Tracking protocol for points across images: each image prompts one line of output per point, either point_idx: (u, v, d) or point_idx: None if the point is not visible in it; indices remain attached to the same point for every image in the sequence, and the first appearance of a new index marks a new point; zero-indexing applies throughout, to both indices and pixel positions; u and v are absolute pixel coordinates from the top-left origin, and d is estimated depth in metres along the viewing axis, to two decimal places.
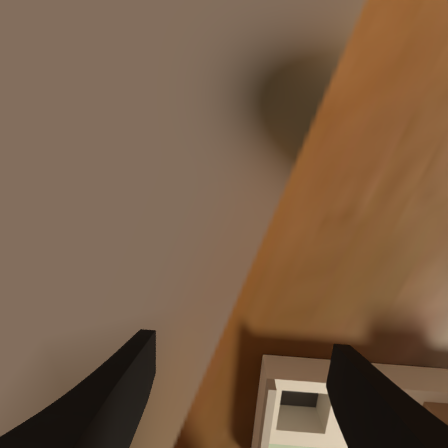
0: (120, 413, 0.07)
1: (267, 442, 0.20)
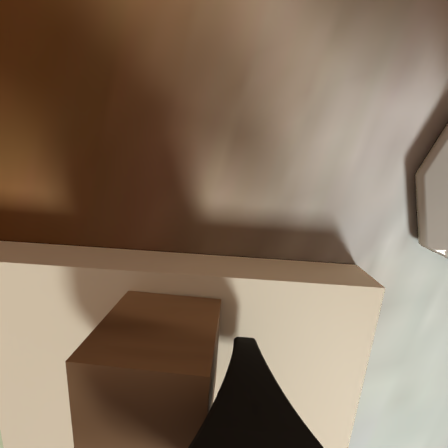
0: None
1: None
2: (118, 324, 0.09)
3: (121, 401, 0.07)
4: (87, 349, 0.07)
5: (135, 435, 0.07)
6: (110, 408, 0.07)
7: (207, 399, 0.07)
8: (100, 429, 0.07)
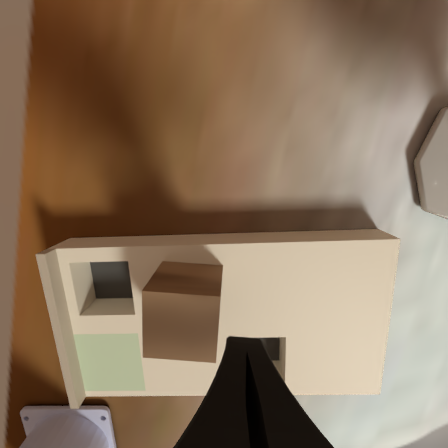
0: None
1: (58, 325, 0.17)
2: (163, 276, 0.15)
3: (171, 313, 0.13)
4: (150, 286, 0.13)
5: (178, 333, 0.13)
6: (164, 317, 0.13)
7: (219, 310, 0.13)
8: (158, 331, 0.13)
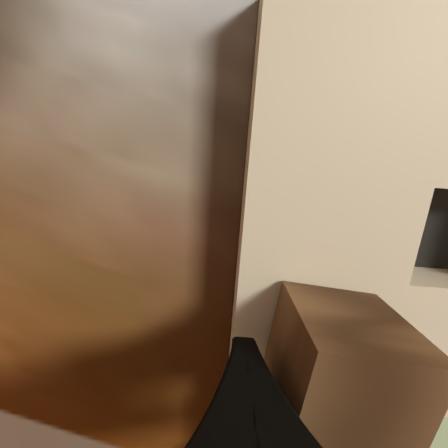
0: None
1: None
2: None
3: (337, 430, 0.07)
4: None
5: (381, 424, 0.07)
6: (343, 440, 0.07)
7: (347, 355, 0.07)
8: None
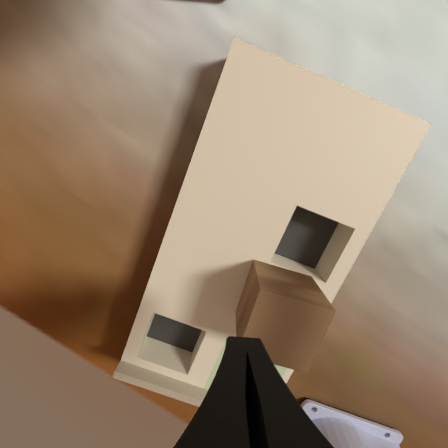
0: None
1: (181, 395, 0.18)
2: (239, 323, 0.15)
3: (266, 336, 0.13)
4: None
5: (290, 335, 0.13)
6: (269, 343, 0.13)
7: (275, 293, 0.13)
8: (282, 352, 0.14)
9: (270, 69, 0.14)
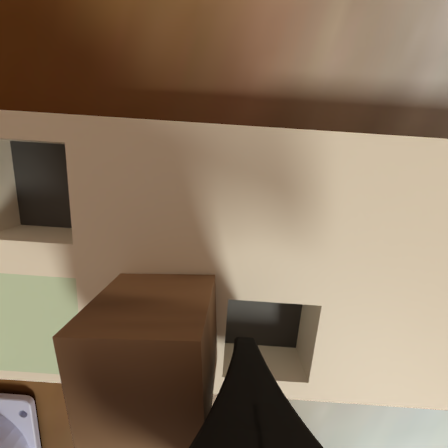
0: None
1: None
2: (108, 302, 0.08)
3: (112, 375, 0.07)
4: (75, 325, 0.07)
5: (131, 410, 0.07)
6: (102, 383, 0.07)
7: (201, 366, 0.07)
8: (95, 406, 0.07)
9: None
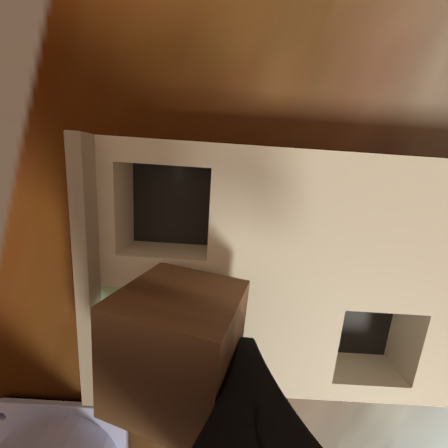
0: None
1: (84, 263, 0.10)
2: (144, 286, 0.09)
3: (135, 356, 0.07)
4: (111, 301, 0.08)
5: (147, 394, 0.07)
6: (125, 361, 0.07)
7: (217, 369, 0.07)
8: (116, 381, 0.08)
9: None
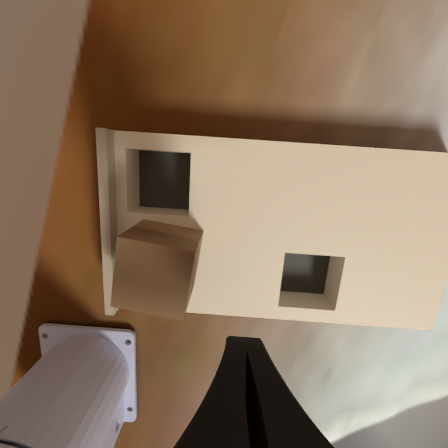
0: None
1: (107, 214, 0.16)
2: (141, 230, 0.14)
3: (144, 263, 0.13)
4: (126, 234, 0.13)
5: (149, 285, 0.13)
6: (137, 267, 0.13)
7: (192, 265, 0.13)
8: (129, 280, 0.13)
9: None
